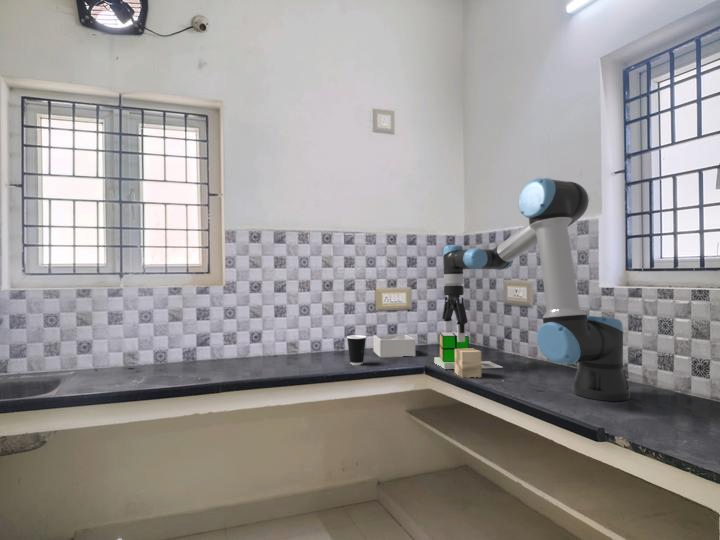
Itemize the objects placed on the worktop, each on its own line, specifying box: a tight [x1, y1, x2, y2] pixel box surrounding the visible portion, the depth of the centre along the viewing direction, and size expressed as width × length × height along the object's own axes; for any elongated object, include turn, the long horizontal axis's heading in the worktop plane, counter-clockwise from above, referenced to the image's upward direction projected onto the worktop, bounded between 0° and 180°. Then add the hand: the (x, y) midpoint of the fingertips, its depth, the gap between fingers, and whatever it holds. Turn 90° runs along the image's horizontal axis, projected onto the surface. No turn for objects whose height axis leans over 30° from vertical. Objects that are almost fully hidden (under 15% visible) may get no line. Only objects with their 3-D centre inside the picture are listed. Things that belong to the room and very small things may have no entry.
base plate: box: [433, 356, 455, 370], centre depth 172 cm, size 12×12×2 cm
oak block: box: [454, 347, 482, 379], centre depth 156 cm, size 7×7×9 cm
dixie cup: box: [346, 334, 367, 366], centre depth 176 cm, size 8×8×11 cm
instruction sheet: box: [481, 360, 504, 369], centre depth 174 cm, size 12×9×1 cm
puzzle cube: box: [439, 331, 470, 362], centre depth 172 cm, size 10×10×10 cm
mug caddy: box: [373, 334, 416, 358], centre depth 199 cm, size 16×16×8 cm
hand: (454, 339), depth 171 cm, fingers open, 13 cm apart
